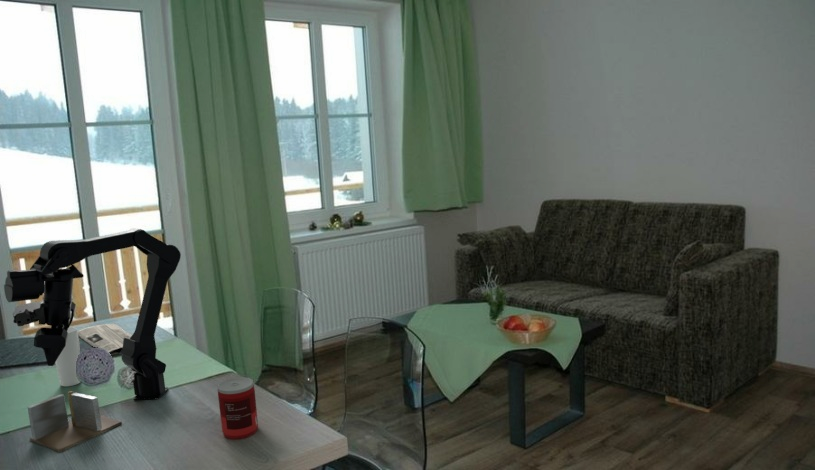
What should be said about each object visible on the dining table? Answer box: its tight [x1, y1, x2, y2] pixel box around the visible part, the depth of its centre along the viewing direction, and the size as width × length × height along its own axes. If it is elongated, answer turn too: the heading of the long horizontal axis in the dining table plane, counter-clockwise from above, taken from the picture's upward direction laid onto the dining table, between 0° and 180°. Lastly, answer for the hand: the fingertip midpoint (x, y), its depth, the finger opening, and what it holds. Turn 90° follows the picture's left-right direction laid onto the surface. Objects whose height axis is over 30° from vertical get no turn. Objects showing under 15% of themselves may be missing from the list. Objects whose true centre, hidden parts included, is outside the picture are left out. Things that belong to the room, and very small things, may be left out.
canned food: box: [217, 376, 259, 440], centre depth 140 cm, size 8×8×11 cm
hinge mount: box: [27, 390, 122, 453], centre depth 145 cm, size 14×12×9 cm
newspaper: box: [77, 323, 133, 356], centre depth 212 cm, size 35×12×4 cm, turn 41°
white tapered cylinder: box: [54, 326, 81, 388], centre depth 175 cm, size 7×7×15 cm
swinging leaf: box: [71, 392, 102, 431], centre depth 145 cm, size 8×1×8 cm, turn 62°
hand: (53, 355), depth 152 cm, fingers open, 9 cm apart
